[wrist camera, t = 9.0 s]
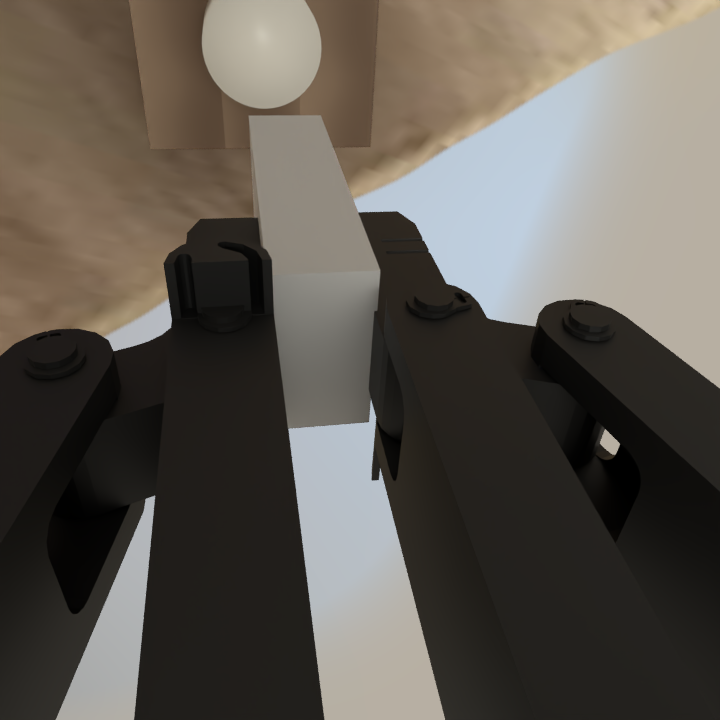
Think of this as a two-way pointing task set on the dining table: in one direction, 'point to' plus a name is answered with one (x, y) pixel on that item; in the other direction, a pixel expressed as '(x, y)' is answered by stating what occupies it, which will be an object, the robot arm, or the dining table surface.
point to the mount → (230, 118)
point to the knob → (261, 49)
